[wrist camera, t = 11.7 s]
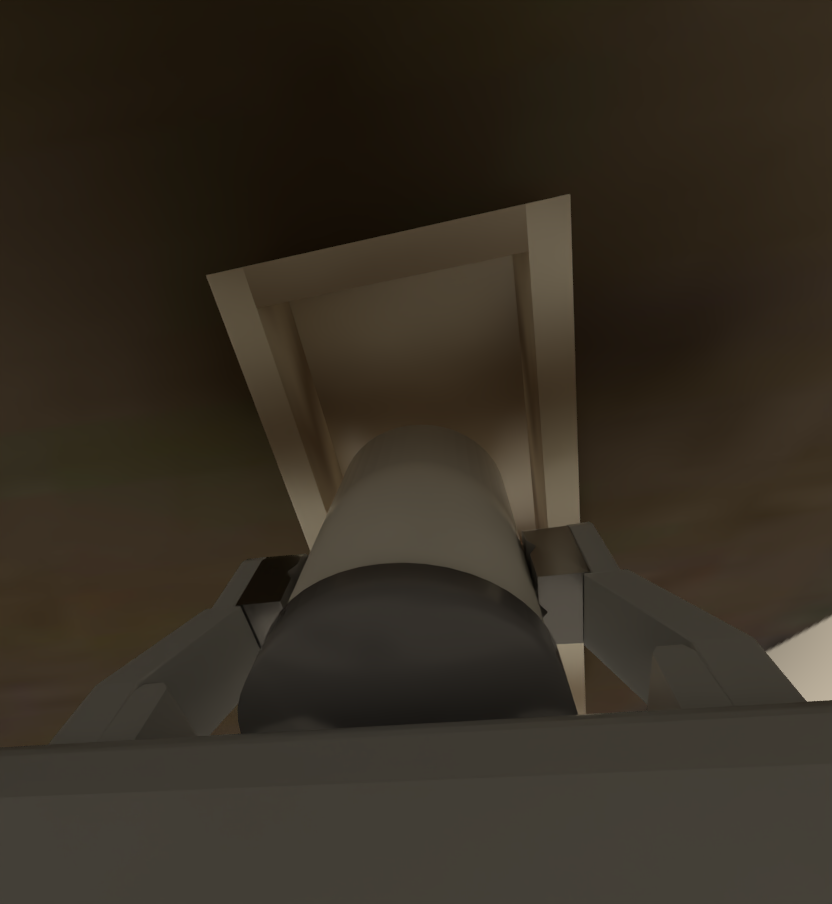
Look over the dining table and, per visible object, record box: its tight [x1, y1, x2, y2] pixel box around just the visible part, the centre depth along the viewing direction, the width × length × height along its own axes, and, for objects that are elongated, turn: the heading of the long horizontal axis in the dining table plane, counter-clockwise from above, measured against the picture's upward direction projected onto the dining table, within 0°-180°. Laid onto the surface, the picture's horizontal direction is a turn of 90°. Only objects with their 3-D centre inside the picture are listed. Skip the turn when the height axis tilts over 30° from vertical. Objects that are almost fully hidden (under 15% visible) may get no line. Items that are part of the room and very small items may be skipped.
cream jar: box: [238, 425, 578, 734], centre depth 10 cm, size 5×5×7 cm
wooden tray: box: [206, 194, 586, 715], centre depth 15 cm, size 22×9×6 cm, turn 11°
